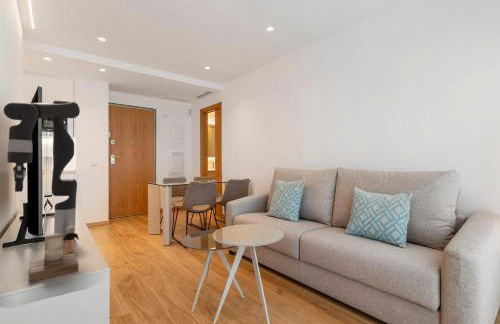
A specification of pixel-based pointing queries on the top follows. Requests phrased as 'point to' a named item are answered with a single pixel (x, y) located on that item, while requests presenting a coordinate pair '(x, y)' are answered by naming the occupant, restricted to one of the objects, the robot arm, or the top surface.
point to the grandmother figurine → (70, 240)
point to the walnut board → (53, 268)
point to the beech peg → (53, 249)
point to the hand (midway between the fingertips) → (19, 190)
